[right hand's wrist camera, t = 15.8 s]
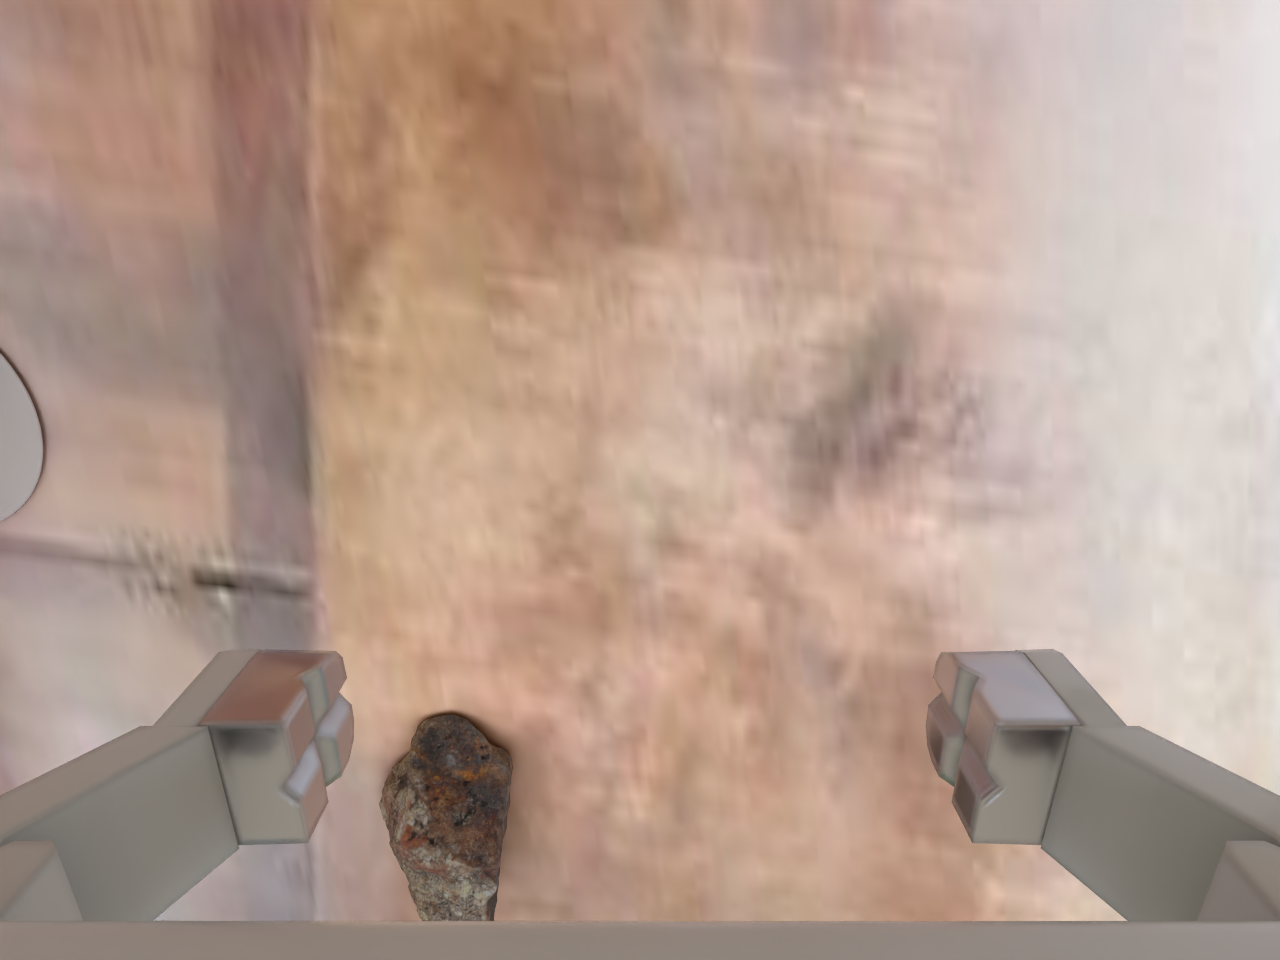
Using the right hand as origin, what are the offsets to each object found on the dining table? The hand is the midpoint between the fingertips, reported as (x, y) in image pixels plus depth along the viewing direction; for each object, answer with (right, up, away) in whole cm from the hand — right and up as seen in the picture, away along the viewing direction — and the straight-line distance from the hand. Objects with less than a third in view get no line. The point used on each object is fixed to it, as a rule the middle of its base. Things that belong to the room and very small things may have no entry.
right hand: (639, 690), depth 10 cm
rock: (-13, -20, +44) cm, 49 cm away
